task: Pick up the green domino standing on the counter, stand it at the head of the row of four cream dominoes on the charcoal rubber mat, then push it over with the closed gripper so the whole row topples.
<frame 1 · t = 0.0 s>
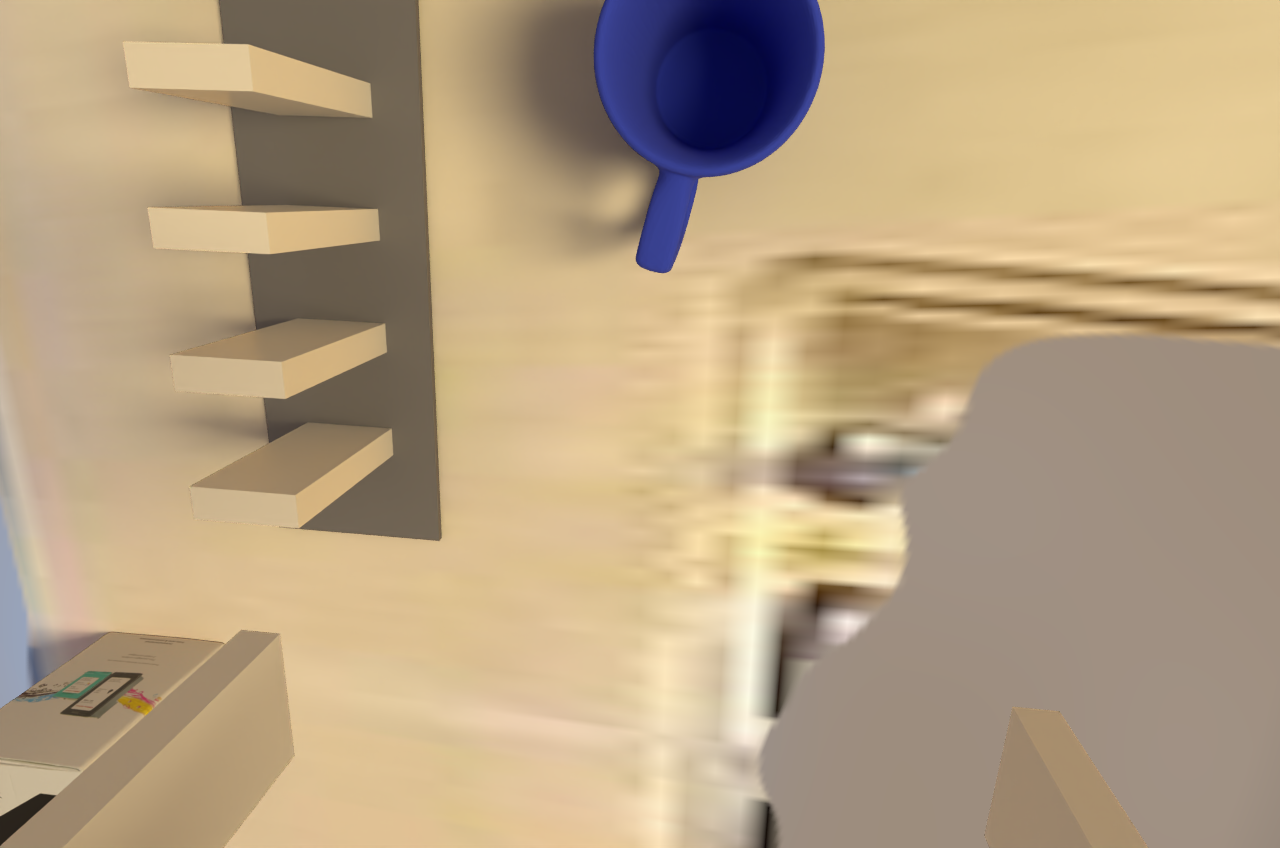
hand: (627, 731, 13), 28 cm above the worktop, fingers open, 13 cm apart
ink box: (177, 688, 50), on the worktop
domino 5: (350, 438, 43), resting on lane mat
mug: (700, 134, 37), on the worktop
domino 2: (323, 99, 38), resting on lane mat
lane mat: (338, 241, 40), on the worktop
domino 4: (342, 335, 41), resting on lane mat
domino 3: (333, 222, 39), resting on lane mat
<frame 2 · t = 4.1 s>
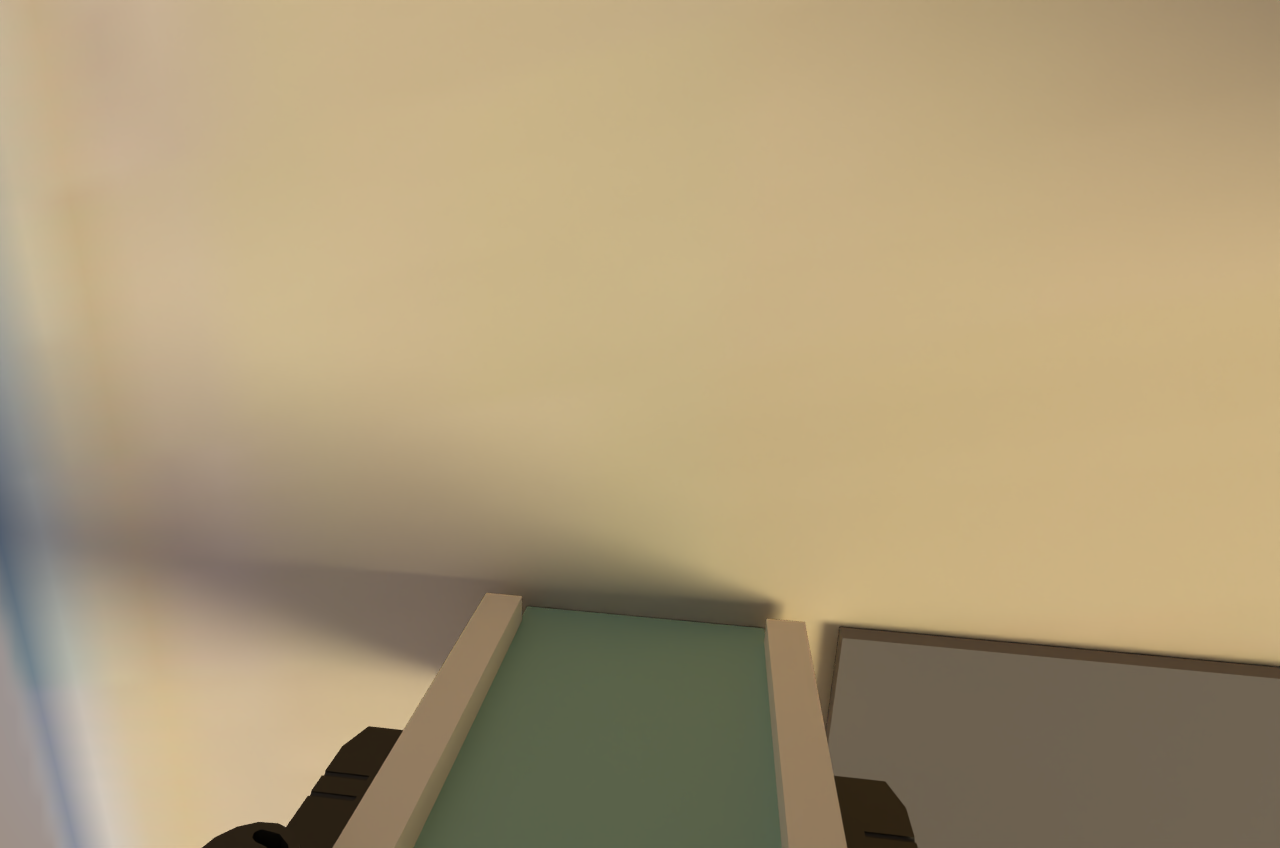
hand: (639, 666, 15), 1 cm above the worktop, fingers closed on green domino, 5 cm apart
green domino: (642, 650, 16), on the worktop, touching gripper
when the fingers open (2 cm above the worktop, at t = 8.6 s): green domino stays where it is, resting on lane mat.
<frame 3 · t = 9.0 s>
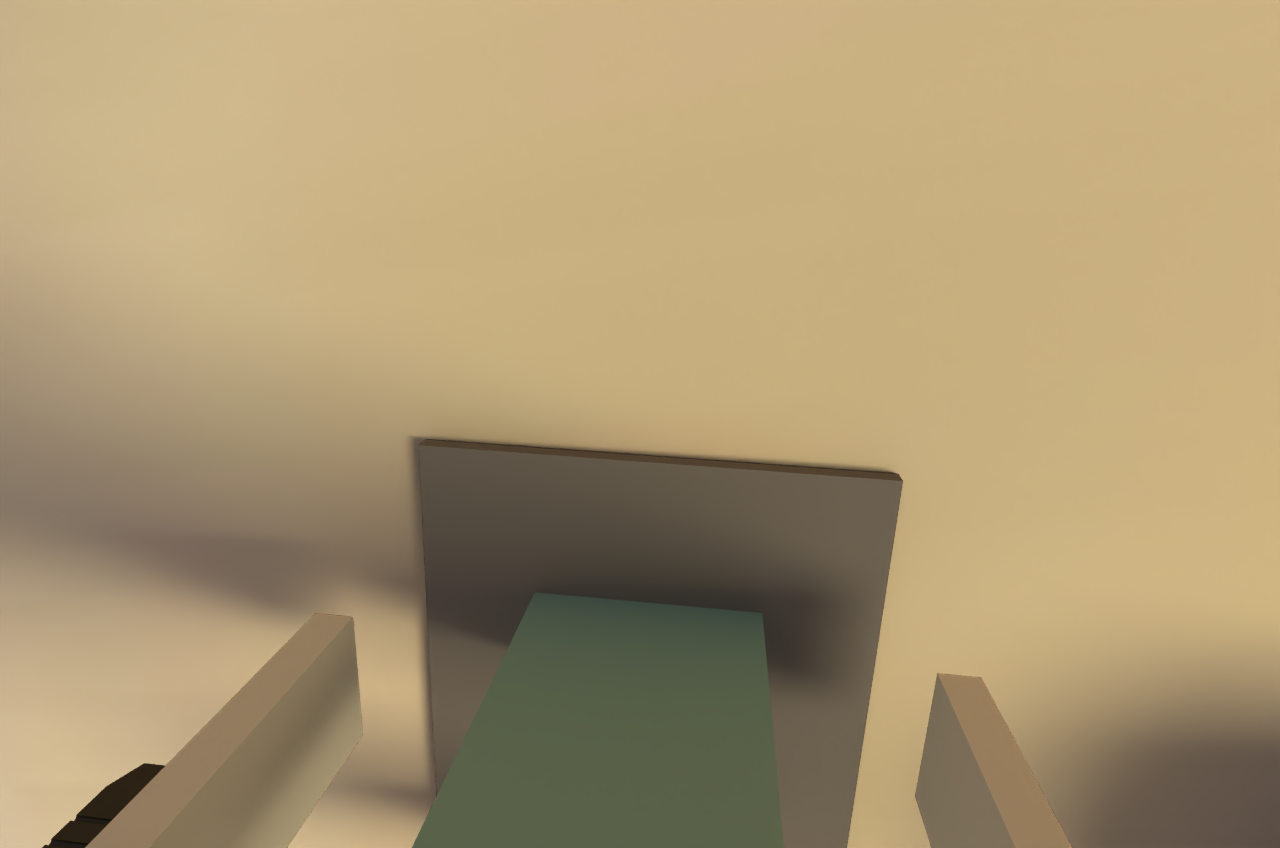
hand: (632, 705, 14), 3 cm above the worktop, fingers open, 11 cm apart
green domino: (645, 634, 17), resting on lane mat
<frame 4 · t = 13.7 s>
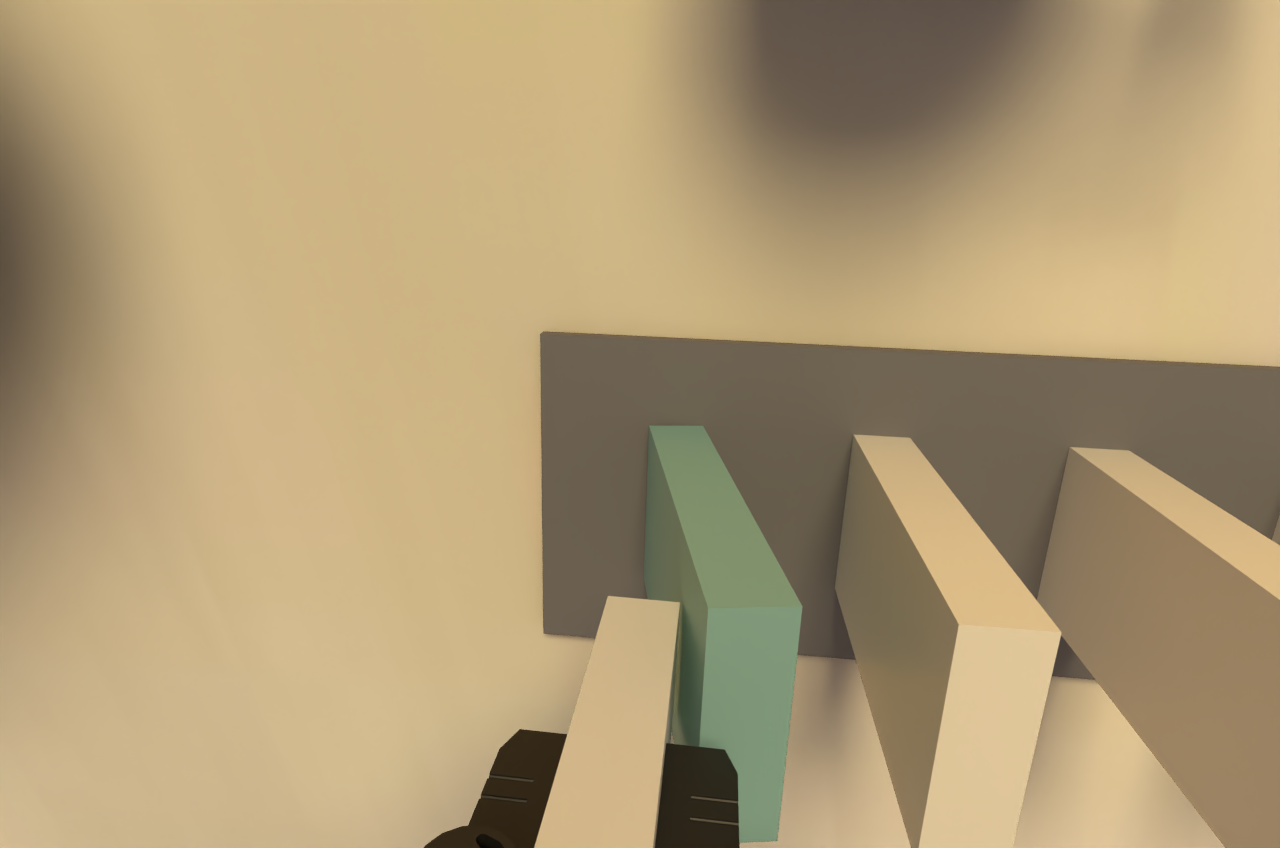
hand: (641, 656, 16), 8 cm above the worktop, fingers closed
domino 2: (871, 515, 22), resting on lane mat
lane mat: (1110, 526, 22), on the worktop
green domino: (672, 503, 23), point 1 cm above the worktop, tilted 11°, touching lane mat
domino 3: (1080, 529, 22), resting on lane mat
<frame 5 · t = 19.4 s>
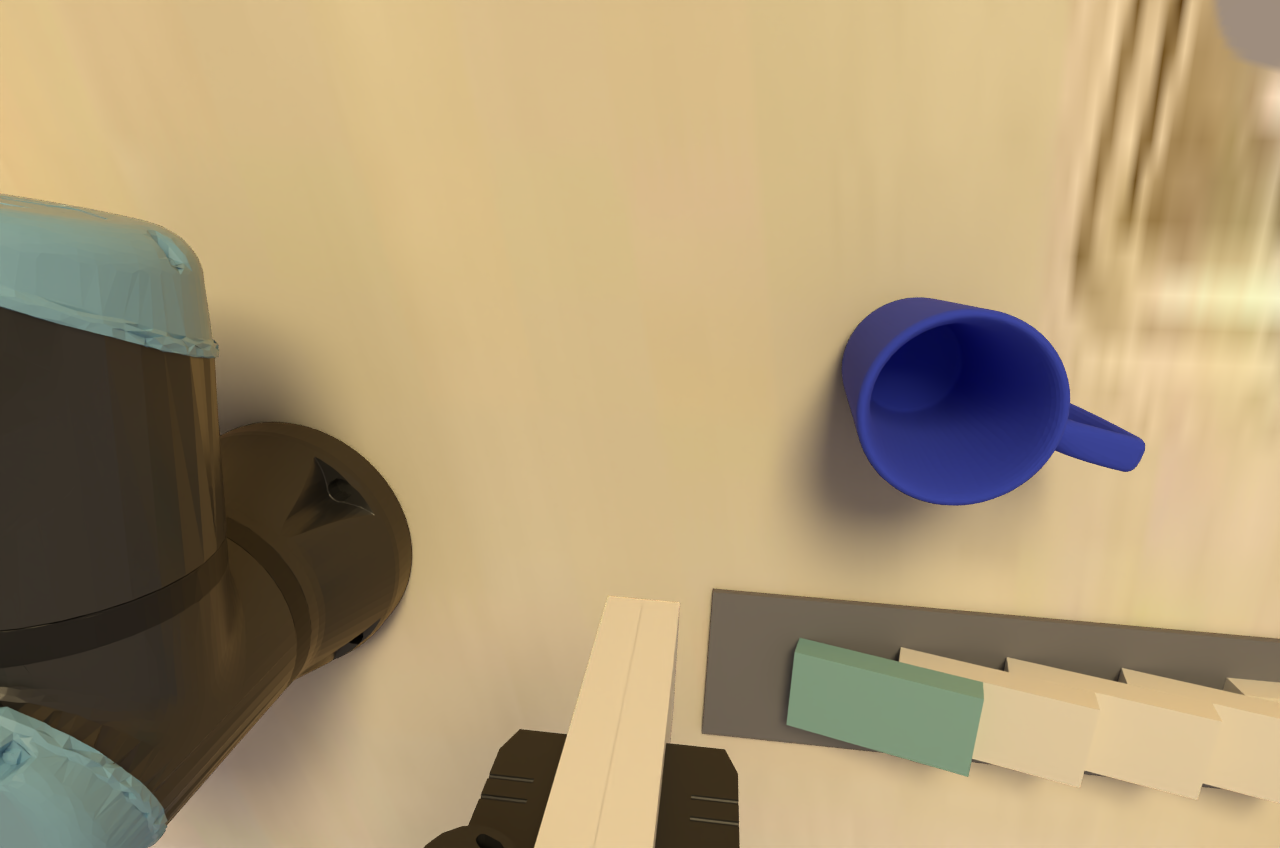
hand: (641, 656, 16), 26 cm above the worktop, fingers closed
domino 5: (1223, 724, 42), point 1 cm above the worktop, tilted 90°, touching domino 4, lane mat
mug: (939, 369, 40), on the worktop
domino 2: (893, 691, 44), point 1 cm above the worktop, tilted 74°, touching domino 3, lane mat, green domino
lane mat: (994, 689, 44), on the worktop
green domino: (793, 681, 44), point 1 cm above the worktop, tilted 74°, touching domino 2, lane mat
domino 4: (1114, 713, 43), point 1 cm above the worktop, tilted 74°, touching domino 3, domino 5, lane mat
domino 3: (999, 701, 43), point 1 cm above the worktop, tilted 75°, touching domino 2, domino 4, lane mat
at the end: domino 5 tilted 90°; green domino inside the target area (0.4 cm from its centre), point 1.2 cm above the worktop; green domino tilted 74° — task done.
